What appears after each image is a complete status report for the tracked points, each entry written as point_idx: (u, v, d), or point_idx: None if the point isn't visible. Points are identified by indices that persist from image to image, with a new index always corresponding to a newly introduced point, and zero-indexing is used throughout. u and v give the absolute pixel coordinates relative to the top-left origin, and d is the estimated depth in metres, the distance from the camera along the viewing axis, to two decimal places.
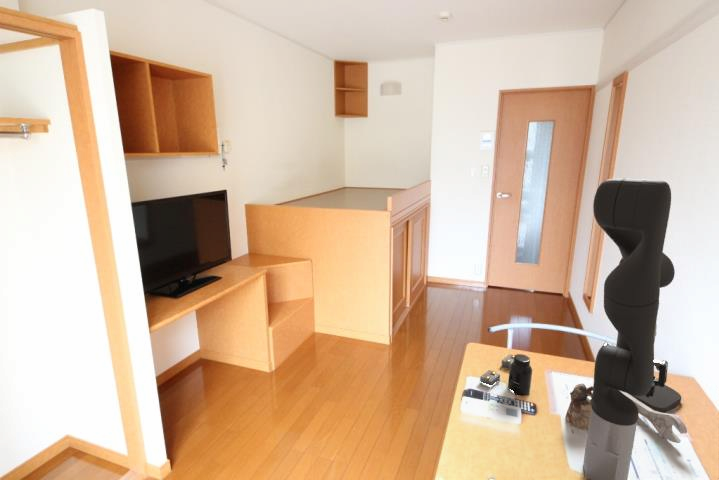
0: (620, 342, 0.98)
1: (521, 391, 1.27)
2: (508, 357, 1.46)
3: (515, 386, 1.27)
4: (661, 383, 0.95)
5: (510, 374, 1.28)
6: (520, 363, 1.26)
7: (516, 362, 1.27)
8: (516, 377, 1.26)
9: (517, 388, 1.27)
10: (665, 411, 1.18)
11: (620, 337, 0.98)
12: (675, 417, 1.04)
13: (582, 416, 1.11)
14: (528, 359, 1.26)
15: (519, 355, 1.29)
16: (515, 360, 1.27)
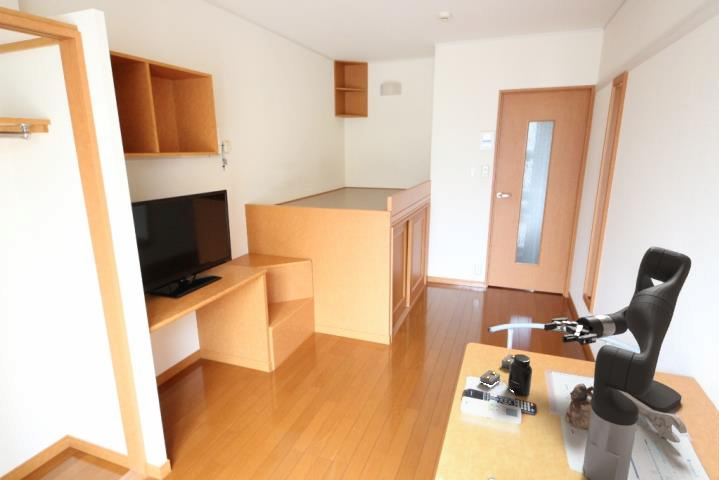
0: None
1: (521, 391, 1.27)
2: (508, 357, 1.46)
3: (515, 386, 1.27)
4: (583, 336, 1.23)
5: (510, 374, 1.28)
6: (520, 363, 1.26)
7: (516, 362, 1.27)
8: (516, 377, 1.26)
9: (517, 388, 1.27)
10: (665, 411, 1.18)
11: None
12: (675, 417, 1.04)
13: (582, 416, 1.11)
14: (528, 359, 1.26)
15: (519, 355, 1.29)
16: (515, 360, 1.27)
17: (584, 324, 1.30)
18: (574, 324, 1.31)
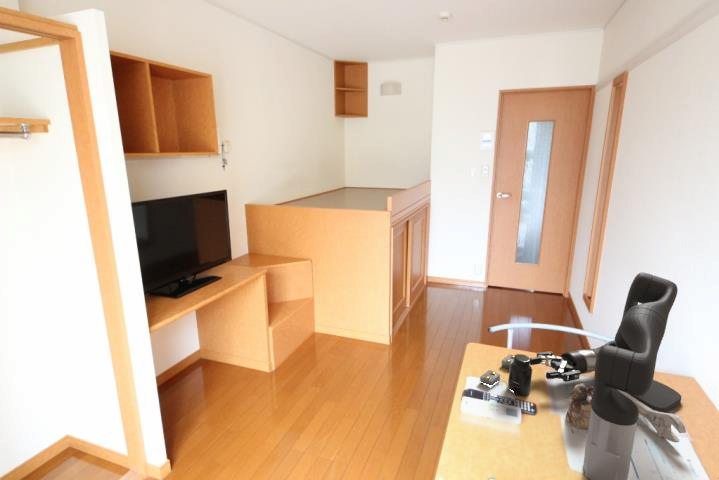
0: None
1: (521, 391, 1.27)
2: (508, 357, 1.46)
3: (515, 386, 1.27)
4: (566, 373, 1.25)
5: (510, 374, 1.28)
6: (520, 363, 1.26)
7: (516, 362, 1.27)
8: (516, 377, 1.26)
9: (517, 388, 1.27)
10: (665, 411, 1.18)
11: None
12: (674, 417, 1.05)
13: (582, 417, 1.11)
14: (528, 359, 1.26)
15: (519, 355, 1.29)
16: (515, 360, 1.27)
17: (568, 359, 1.32)
18: (558, 359, 1.32)
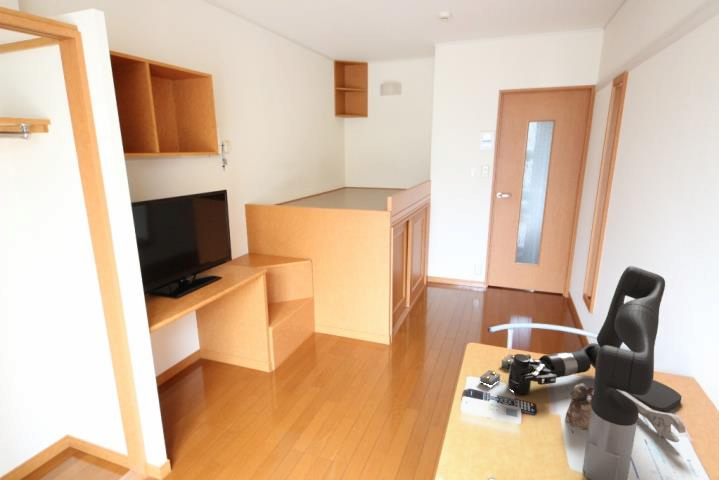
0: None
1: (521, 391, 1.27)
2: (508, 357, 1.46)
3: (515, 386, 1.27)
4: (541, 376, 1.23)
5: (510, 374, 1.28)
6: (520, 363, 1.26)
7: (516, 362, 1.27)
8: (516, 377, 1.26)
9: (517, 388, 1.27)
10: (665, 411, 1.18)
11: (550, 354, 1.33)
12: (674, 416, 1.05)
13: (582, 416, 1.11)
14: (528, 359, 1.26)
15: (519, 355, 1.29)
16: (515, 360, 1.27)
17: (546, 363, 1.30)
18: (537, 362, 1.30)
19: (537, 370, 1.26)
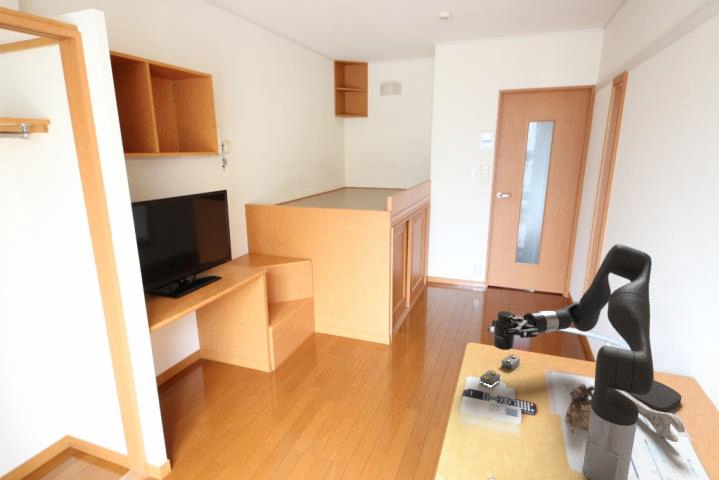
0: None
1: (505, 345, 1.34)
2: (508, 357, 1.46)
3: (499, 341, 1.34)
4: (523, 330, 1.31)
5: (494, 330, 1.36)
6: (503, 318, 1.33)
7: (500, 318, 1.34)
8: (500, 332, 1.34)
9: (501, 342, 1.34)
10: (665, 411, 1.18)
11: None
12: (673, 416, 1.05)
13: (582, 416, 1.11)
14: (511, 315, 1.34)
15: (503, 312, 1.36)
16: (499, 316, 1.34)
17: (529, 319, 1.37)
18: (520, 319, 1.38)
19: (520, 325, 1.33)
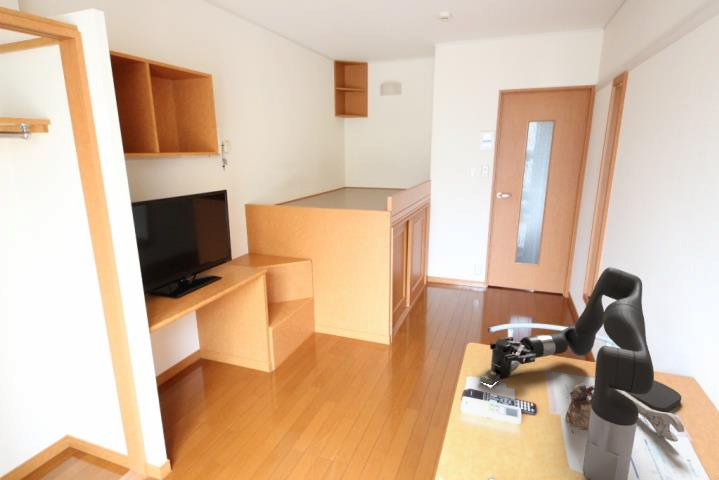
0: None
1: (502, 374, 1.36)
2: None
3: (497, 369, 1.37)
4: (522, 356, 1.32)
5: (492, 358, 1.38)
6: (501, 347, 1.35)
7: (498, 346, 1.36)
8: (497, 360, 1.36)
9: (498, 371, 1.37)
10: (665, 411, 1.18)
11: None
12: (672, 416, 1.05)
13: (582, 417, 1.11)
14: (509, 344, 1.36)
15: (501, 340, 1.39)
16: (497, 345, 1.37)
17: (526, 344, 1.39)
18: (517, 344, 1.40)
19: (518, 351, 1.35)
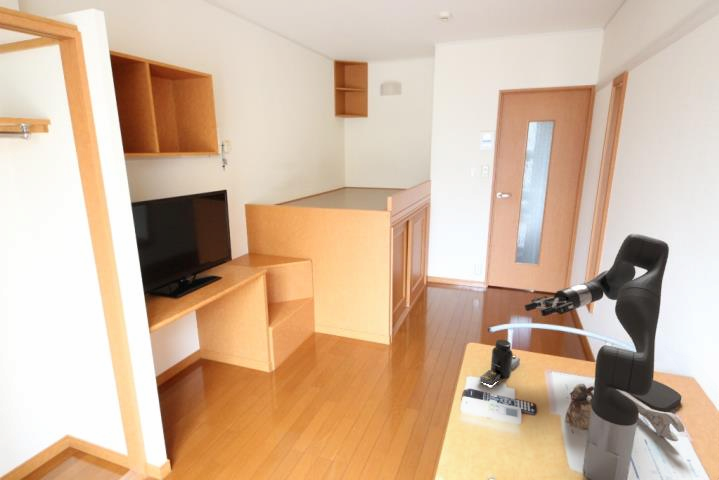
0: None
1: (502, 374, 1.36)
2: None
3: (497, 369, 1.37)
4: (559, 306, 1.30)
5: (492, 358, 1.38)
6: (501, 347, 1.35)
7: (498, 346, 1.36)
8: (497, 360, 1.36)
9: (498, 371, 1.37)
10: (665, 411, 1.18)
11: None
12: (673, 416, 1.05)
13: (582, 417, 1.11)
14: (509, 344, 1.36)
15: (501, 340, 1.39)
16: (497, 345, 1.37)
17: (561, 297, 1.37)
18: (552, 299, 1.38)
19: (554, 303, 1.33)
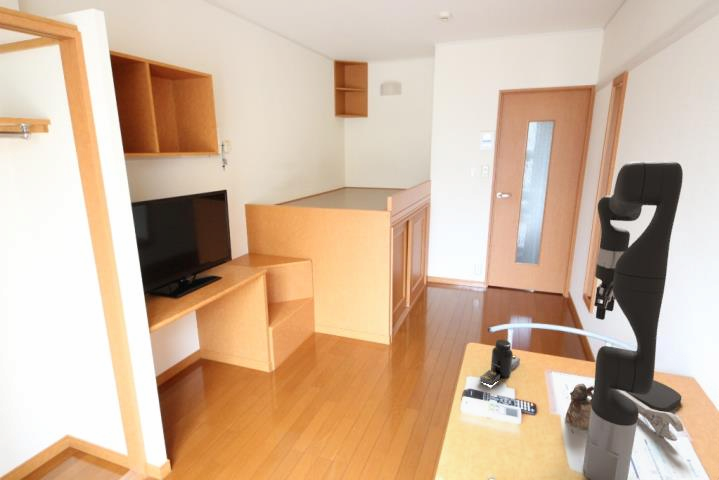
0: None
1: (502, 374, 1.36)
2: None
3: (497, 369, 1.37)
4: None
5: (492, 358, 1.38)
6: (501, 347, 1.35)
7: (497, 346, 1.36)
8: (497, 360, 1.36)
9: (498, 371, 1.37)
10: (665, 411, 1.18)
11: None
12: (672, 415, 1.05)
13: (582, 417, 1.11)
14: (509, 344, 1.36)
15: (501, 340, 1.39)
16: (497, 345, 1.37)
17: None
18: None
19: None
